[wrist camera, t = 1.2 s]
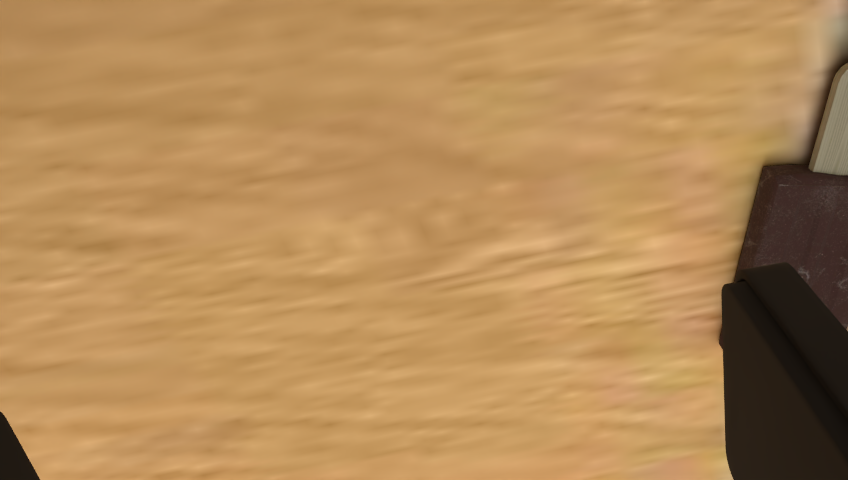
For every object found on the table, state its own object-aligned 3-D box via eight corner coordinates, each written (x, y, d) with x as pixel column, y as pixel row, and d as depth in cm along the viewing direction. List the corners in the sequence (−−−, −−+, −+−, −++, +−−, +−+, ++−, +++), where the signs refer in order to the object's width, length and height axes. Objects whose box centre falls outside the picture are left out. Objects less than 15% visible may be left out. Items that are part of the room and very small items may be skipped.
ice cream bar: (789, 53, 33) (713, 354, 40) (807, 64, 32) (725, 375, 39) (914, 57, 33) (817, 356, 40) (938, 69, 32) (833, 376, 39)
